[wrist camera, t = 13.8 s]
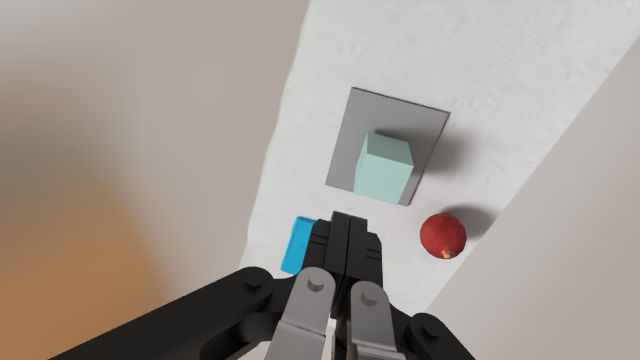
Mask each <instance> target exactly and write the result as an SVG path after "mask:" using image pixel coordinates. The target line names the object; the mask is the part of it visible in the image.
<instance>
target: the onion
mask: <svg viewBox="0 0 640 360" xmlns="http://www.w3.org/2000/svg"><path fill="white" fill-rule="evenodd" d="M420 239H421V243H422V245H423V246H424V248H425V249H426V250H427V252H428V253H430V254H431V255H433V256H435V257H437V258H441V259H451V258H454V257H456V256H457V255H459V254H460V253H461V252H462V251H463V249H464V247H465V244H466V240H467V237H466V232H465V228H464V226H463V225H462V224H461V223H460V221H459V220H458V219H456V218H455V217H453V216H451V215H448V214H435V215H433V216H431V217H429V218H428V219H427V220H426V221H425V222H424V223H423V225H422V227H421V230H420Z"/></svg>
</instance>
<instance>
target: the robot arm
mask: <svg viewBox="0 0 640 360" xmlns="http://www.w3.org/2000/svg"><path fill="white" fill-rule="evenodd" d="M381 253H382V246H381V242H380V240H379V238H378V236H377V234H375V233H371V232H367V219H363V218H360V217H356V216H352V215H351V216H350V215H348V214H344V213H341V212H337V211H333V214H332V217H331V220H330V221H326V220H322V219H318V220H317V221H316V222H315V223H314V224H313V225H312V229H311V233H310V236H309V240H308V244H307V248H306V251H305V255H304V259H303V263H302V267H301V269H300V271H299V272H298V273H297V274H296V275H294V276H292V277H289V278H285V279H273V277H272V275H271V274H270V273H269V272H268V271H266V270H265V269H263V268H260V267H246V268H243V269H241V270H239V271H236V272H234V273H232V274H230V275H228V276H226V277H224V278H222V279H219V280H217V281H216V282H213V283H211V284H209V285H207V286H204V287H202V288H200V289H198V290H196V291H194V292H192V293H189V294H187V295H185V296H183V297H181V298H179V299H177V300H174V301H172V302H170V303H168V304H166V305H164V306H162V307H159V308H157V309H155V310H153V311H151V312H149V313H147V314H144V315H143V316H140V317H138V318H136V319H134V320H132V321H130V322H127V323H125V324H123V325H121V326H119V327H117V328H115V329H112V330H110V331H108V332H106V333H104V334H102V335H100V336H97V337H95V338H93V339H91V340H89V341H87V342H85V343H82V344H80V345H78V346H76V347H74V348H72V349H70V350H67V351H65V352H63V353H61V354H59V355H57V356H55V357H53V358H50V359H48V360H237V359H239V358H240V357H242V356H243V355H244V354H246V353H247V352H249V351H250V350H252V349H253V348H255V347H256V346H257V345H258V344H259V343H260V342H262V341H271V343H270V346H269V349H268V351H267V354H266V356H265V359H264V360H321V357H322V352H323V348H324V344H325V338H326V335H325V331H326V327H327V322H328V318H329V314H330V318H332V319H336V320H337V321H336V329H335V331H334V334H333V336H332V352H331V360H476V359H475V358H474V357H473V356H472V355H471V354H470V353H469V352H468V350H467V349H466V348H465V347H464V346H463V345H462V344H461V343H460V341H459V340H458V339H457V338H456V337H455V336H454V335H453V334H452V332H451V331H450V330H449V329H448V328H447V327H446V326H445V325H444V323H443V322H441V321H440V320H439V319H438V318H436V317H435V316H433V315H430V314H427V313H417V314H415V315H414V316H413V317H410V316H408V315H407V314H405V313H403V312H401V311H400V310H398V309H396V308H395V307H394V306H393V305H392V304H391V303H390V302H389V298H388V296H387V294H386V292H385V291H384V290H383V273H382V254H381ZM330 311H331V313H330Z"/></svg>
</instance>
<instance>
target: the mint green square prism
mask: <svg viewBox="0 0 640 360" xmlns="http://www.w3.org/2000/svg"><path fill="white" fill-rule="evenodd" d="M413 167H414V165H413V161H412V157H411V152H410V148H409V144H408V142H405V141H401V140H397V139H394V138H390V137H386V136H382V135H379V134H375V133H371V132H367V135H366V138H365V141H364V144H363V147H362V150H361V153H360V156H359V159H358V162H357V165H356V172H355V182H354V192H353V193H355V194H358V195H362V196H366V197H369V198H373V199H377V200H381V201H384V202H388V203H392V204H395V205H397V204H398V202H399V200H400V197H401V195H402V193H403V190H404V188H405V186H406V183H407V181H408V179H409V176H410V174H411V172H412V169H413Z"/></svg>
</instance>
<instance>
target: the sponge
mask: <svg viewBox="0 0 640 360" xmlns="http://www.w3.org/2000/svg"><path fill="white" fill-rule="evenodd" d="M315 222H316V220H311V219H307V218H303V217H297V218H296V220H295V223H294V226H293V229H292V233H291V237H290V241H289V244H288V247H287V250H286V253H285V257H284V259H283V262H282V265H281V270H282V271H284V272H287V273H290V274H293V275H296V274H297V273H298V272H299V271H300V269H301V267H302V263H303V259H304V255H305V251H306V248H307V244H308V240H309V236H310V233H311V229H312V225H313V224H314V223H315Z"/></svg>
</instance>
